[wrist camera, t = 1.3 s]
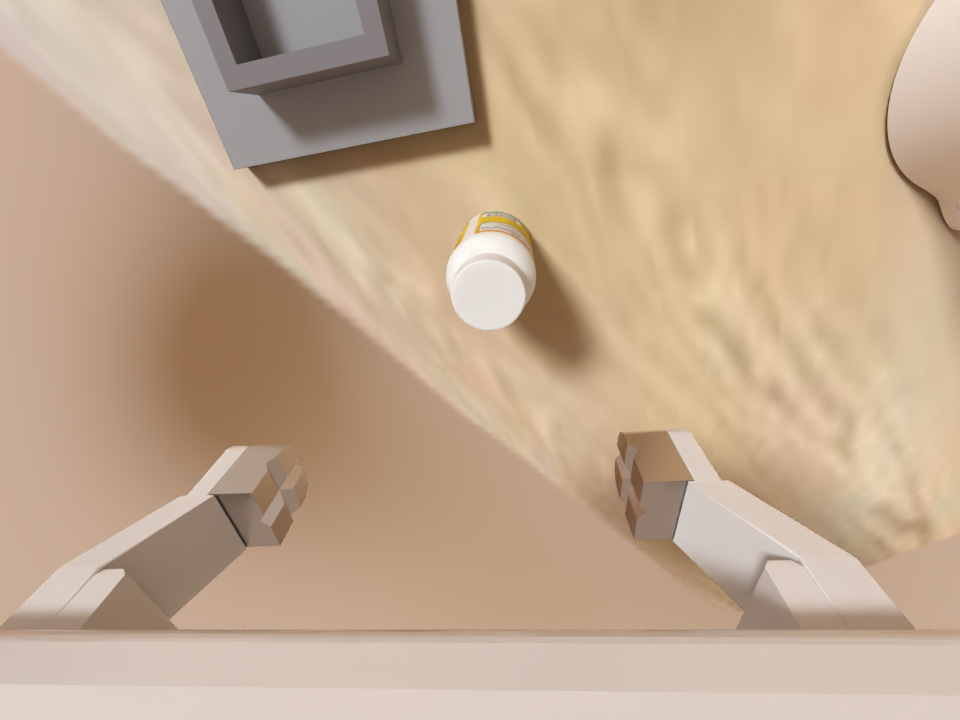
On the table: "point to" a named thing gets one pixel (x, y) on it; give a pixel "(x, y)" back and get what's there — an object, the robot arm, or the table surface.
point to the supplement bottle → (491, 271)
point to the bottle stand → (323, 71)
